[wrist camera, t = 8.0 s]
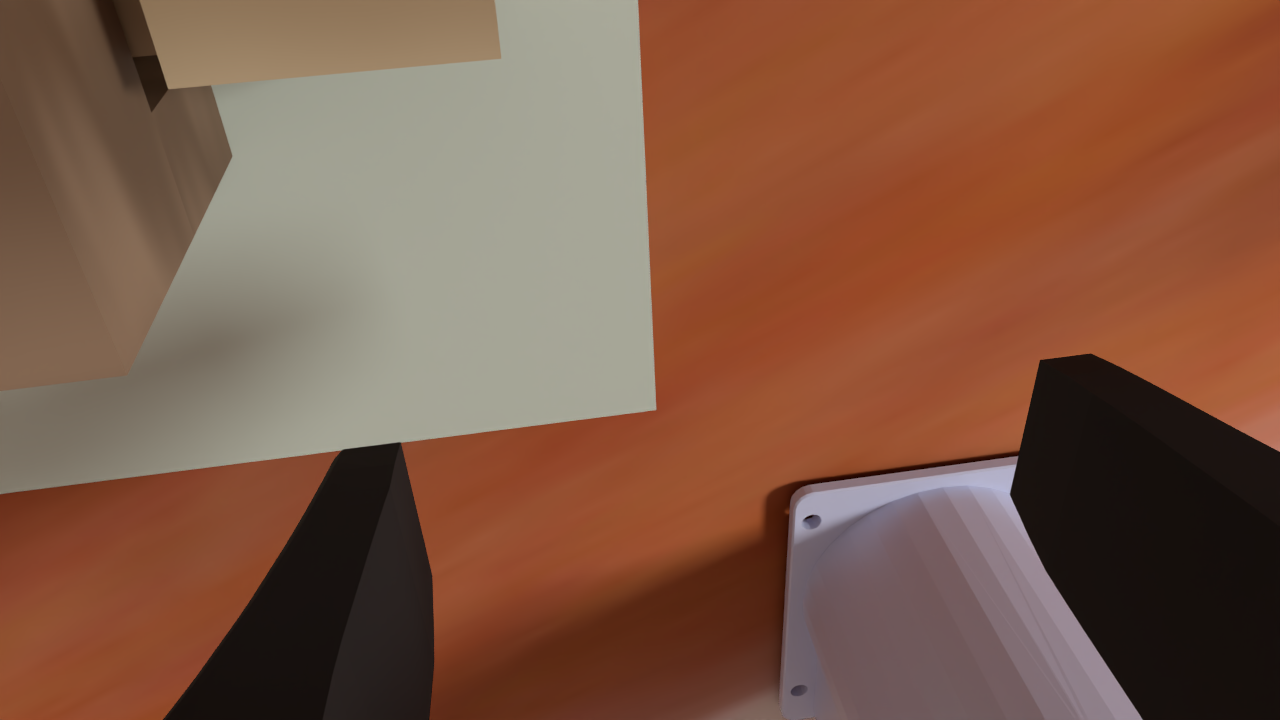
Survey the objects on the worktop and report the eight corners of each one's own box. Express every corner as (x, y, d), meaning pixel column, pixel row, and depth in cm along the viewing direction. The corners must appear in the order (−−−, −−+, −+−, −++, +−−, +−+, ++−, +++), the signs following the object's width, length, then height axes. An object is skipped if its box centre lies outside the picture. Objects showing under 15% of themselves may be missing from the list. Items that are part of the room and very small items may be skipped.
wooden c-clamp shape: (233, 156, 18) (127, 376, 12) (130, 166, 18) (-25, 394, 12) (91, -307, 14) (-161, -300, 8) (-43, -299, 14) (-395, -286, 8)
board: (650, 389, 23) (656, 409, 23) (-64, 479, 22) (-80, 504, 21) (616, -330, 15) (623, -332, 15) (-512, -270, 14) (-559, -267, 13)
